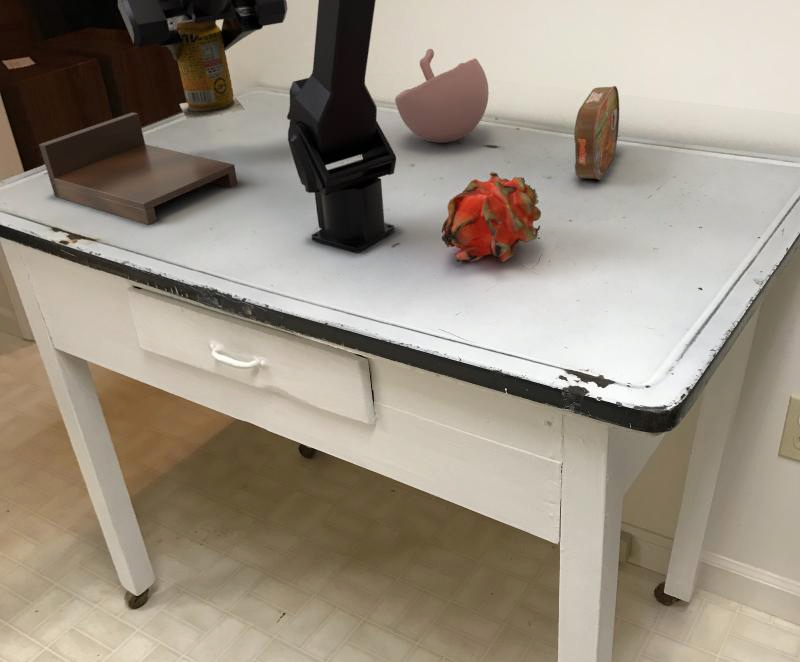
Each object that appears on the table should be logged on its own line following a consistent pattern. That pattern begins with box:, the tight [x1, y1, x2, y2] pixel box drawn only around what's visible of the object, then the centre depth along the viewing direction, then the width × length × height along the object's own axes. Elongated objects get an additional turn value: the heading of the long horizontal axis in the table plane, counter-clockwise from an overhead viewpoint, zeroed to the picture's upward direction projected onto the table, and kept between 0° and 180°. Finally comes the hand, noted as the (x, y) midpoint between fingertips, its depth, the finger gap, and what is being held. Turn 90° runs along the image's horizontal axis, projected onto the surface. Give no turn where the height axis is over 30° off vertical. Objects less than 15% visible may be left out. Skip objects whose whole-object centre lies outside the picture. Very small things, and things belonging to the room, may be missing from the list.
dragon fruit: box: [441, 171, 542, 263], centre depth 83 cm, size 8×8×12 cm
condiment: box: [176, 20, 245, 120], centre depth 106 cm, size 7×8×12 cm
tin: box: [573, 85, 620, 181], centre depth 100 cm, size 15×3×8 cm, turn 158°
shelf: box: [39, 112, 239, 225], centre depth 103 cm, size 18×14×6 cm
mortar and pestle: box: [394, 48, 490, 144], centre depth 111 cm, size 12×12×11 cm
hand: (199, 52), depth 107 cm, fingers closed on condiment, 6 cm apart
